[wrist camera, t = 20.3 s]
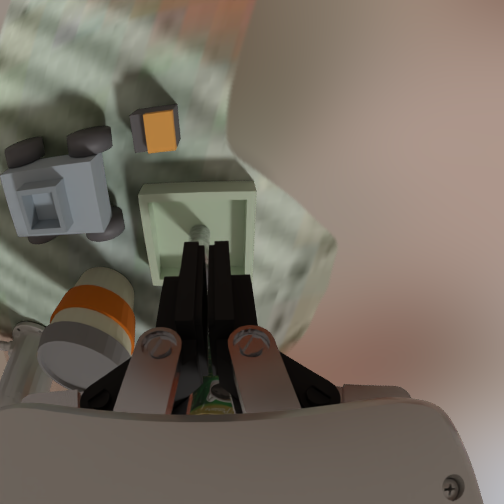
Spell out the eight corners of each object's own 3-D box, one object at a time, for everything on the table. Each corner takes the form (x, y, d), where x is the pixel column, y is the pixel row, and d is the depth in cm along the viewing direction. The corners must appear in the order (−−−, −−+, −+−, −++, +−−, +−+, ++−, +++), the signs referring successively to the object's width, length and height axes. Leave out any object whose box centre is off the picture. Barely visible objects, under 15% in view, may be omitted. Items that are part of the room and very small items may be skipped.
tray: (156, 271, 43) (153, 285, 41) (143, 184, 36) (137, 194, 33) (250, 269, 44) (252, 283, 42) (253, 180, 37) (256, 191, 35)
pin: (186, 246, 41) (180, 293, 33) (184, 221, 39) (176, 266, 31) (214, 245, 41) (214, 292, 33) (213, 220, 39) (212, 265, 31)
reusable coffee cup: (117, 244, 40) (85, 330, 28) (160, 308, 47) (149, 393, 35) (54, 271, 41) (16, 348, 29) (98, 325, 49) (78, 401, 36)
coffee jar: (182, 355, 55) (179, 451, 39) (194, 328, 51) (192, 434, 35) (233, 365, 57) (240, 457, 42) (249, 340, 53) (262, 440, 38)
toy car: (38, 224, 37) (10, 261, 30) (18, 140, 30) (-20, 166, 23) (128, 219, 38) (111, 259, 31) (116, 124, 31) (89, 145, 24)
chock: (142, 143, 33) (133, 155, 29) (137, 109, 31) (127, 117, 27) (180, 138, 33) (175, 150, 30) (177, 103, 31) (171, 111, 27)
